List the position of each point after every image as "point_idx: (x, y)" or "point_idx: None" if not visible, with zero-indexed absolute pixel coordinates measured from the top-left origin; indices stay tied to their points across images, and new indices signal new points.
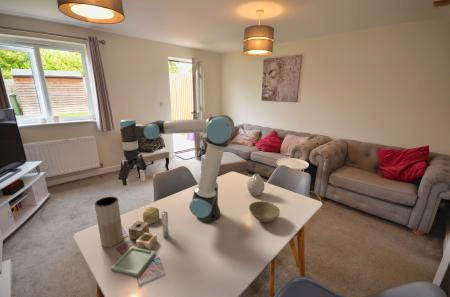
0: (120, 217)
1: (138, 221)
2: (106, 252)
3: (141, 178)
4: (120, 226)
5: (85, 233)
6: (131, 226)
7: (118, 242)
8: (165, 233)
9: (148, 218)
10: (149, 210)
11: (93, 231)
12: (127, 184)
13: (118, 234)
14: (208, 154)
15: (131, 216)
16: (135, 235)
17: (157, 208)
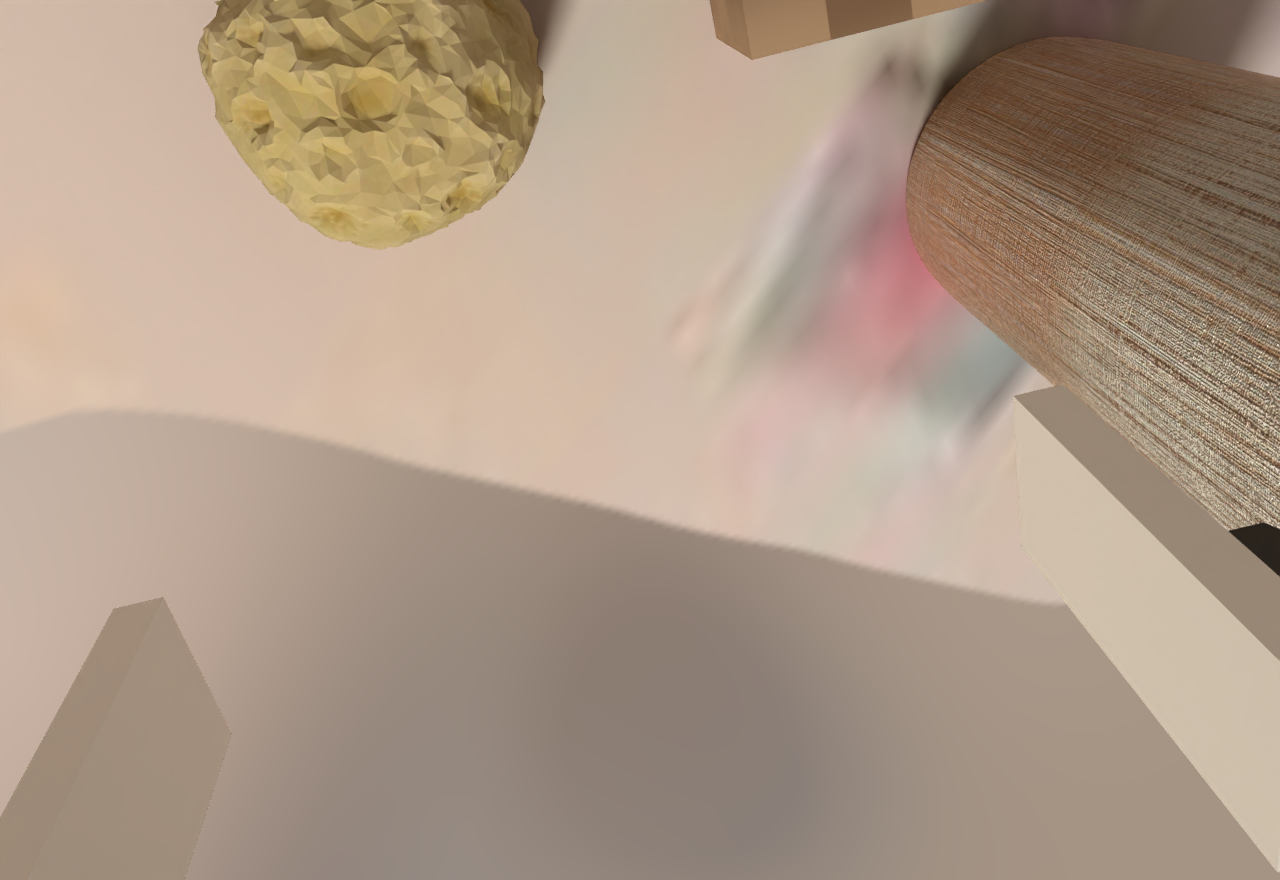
0: (1121, 162)
1: (754, 18)
2: (1241, 30)
3: (195, 764)
4: (1105, 88)
5: (1039, 594)
6: (922, 4)
7: (1073, 37)
8: None
9: (510, 12)
10: (413, 89)
11: (980, 556)
12: (1203, 521)
13: (1121, 51)
14: None
15: (512, 443)
16: None
17: (224, 33)
